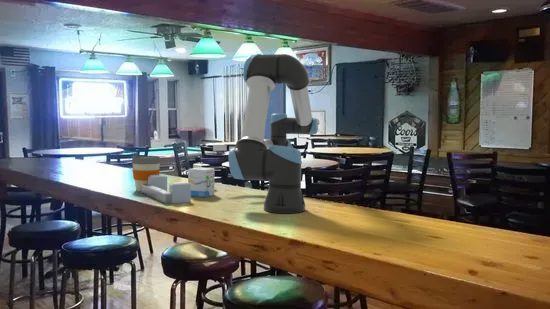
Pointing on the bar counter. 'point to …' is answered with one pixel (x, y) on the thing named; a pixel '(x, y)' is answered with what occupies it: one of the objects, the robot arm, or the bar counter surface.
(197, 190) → the ink box
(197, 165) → the pneumatic valve
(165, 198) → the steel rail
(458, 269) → the bar counter surface
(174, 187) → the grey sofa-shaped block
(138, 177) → the reusable coffee cup
